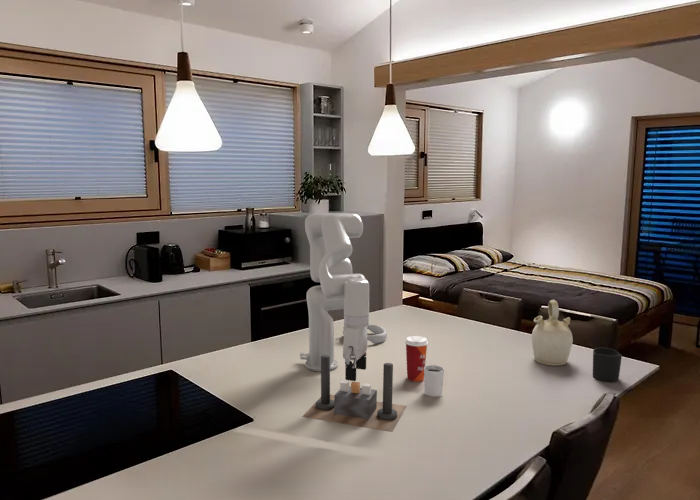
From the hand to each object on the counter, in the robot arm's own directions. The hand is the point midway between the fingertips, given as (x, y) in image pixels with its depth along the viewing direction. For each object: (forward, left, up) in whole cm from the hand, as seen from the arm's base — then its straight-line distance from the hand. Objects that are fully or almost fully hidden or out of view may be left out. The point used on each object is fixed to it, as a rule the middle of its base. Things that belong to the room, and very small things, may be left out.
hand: (356, 374), depth 162 cm
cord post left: (-10, 0, -12) cm, 15 cm away
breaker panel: (0, 0, -13) cm, 13 cm away
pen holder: (+77, +61, -14) cm, 99 cm away
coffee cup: (+11, +36, -14) cm, 40 cm away
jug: (+58, +73, -14) cm, 94 cm away
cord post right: (+10, 0, -12) cm, 15 cm away
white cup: (+20, +22, -14) cm, 33 cm away
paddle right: (+4, 0, -6) cm, 7 cm away
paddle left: (-4, 0, -6) cm, 7 cm away
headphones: (-21, +75, -14) cm, 79 cm away
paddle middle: (0, 0, -6) cm, 6 cm away
